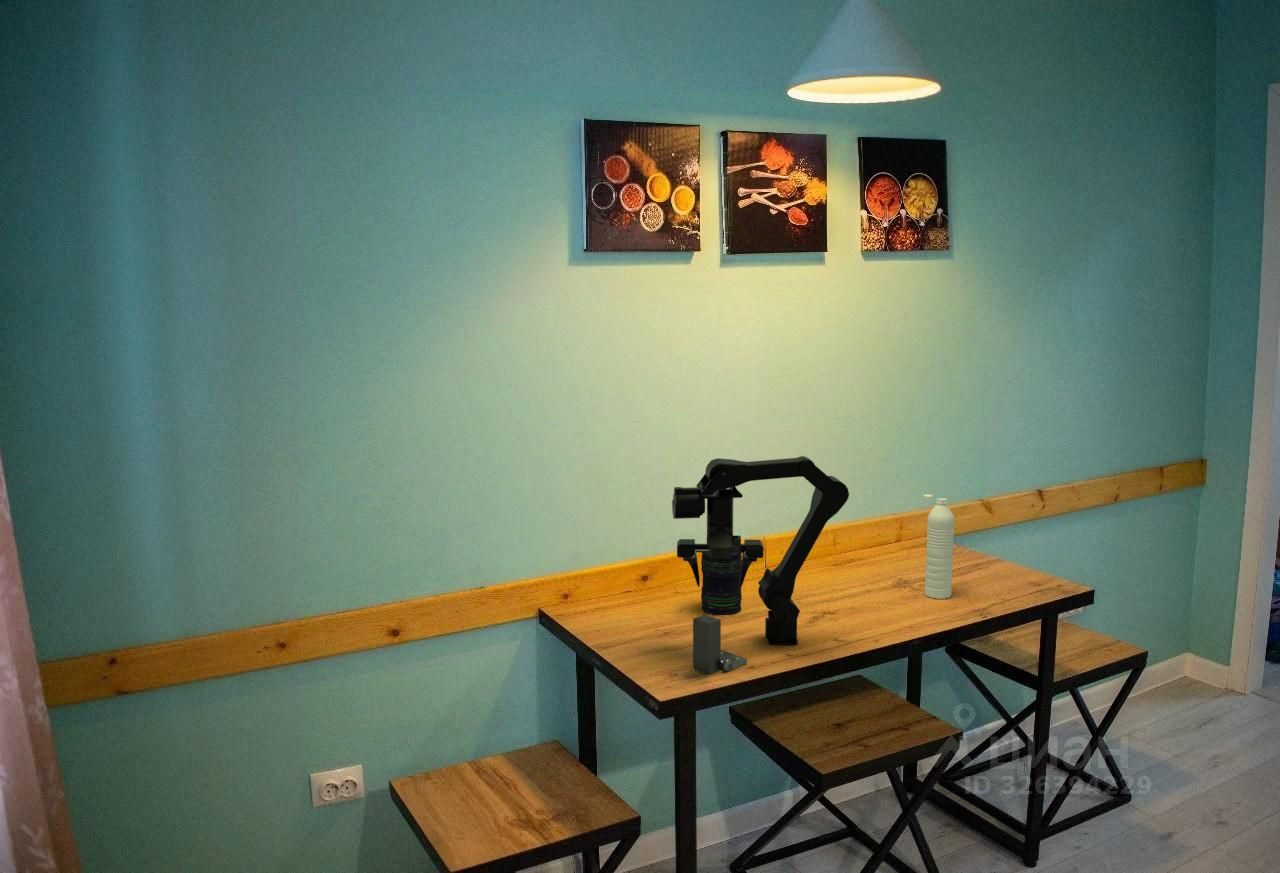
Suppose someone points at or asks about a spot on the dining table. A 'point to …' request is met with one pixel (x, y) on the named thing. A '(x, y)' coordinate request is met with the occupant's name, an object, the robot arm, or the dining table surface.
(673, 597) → the dining table surface
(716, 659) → the dark grey block
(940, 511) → the water bottle
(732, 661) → the fixed hinge leaf
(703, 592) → the storage jar
